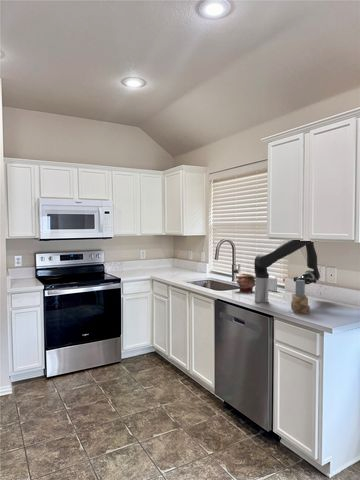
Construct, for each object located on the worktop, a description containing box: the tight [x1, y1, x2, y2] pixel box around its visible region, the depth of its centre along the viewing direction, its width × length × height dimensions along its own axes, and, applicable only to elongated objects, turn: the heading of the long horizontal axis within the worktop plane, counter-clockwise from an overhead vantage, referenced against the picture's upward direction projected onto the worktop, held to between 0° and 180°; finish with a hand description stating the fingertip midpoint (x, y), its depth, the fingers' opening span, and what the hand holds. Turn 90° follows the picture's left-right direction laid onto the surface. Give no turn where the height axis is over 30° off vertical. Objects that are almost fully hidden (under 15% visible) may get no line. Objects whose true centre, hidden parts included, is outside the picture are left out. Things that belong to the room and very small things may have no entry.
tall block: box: [294, 280, 306, 297], centre depth 218 cm, size 4×4×10 cm
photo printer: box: [268, 275, 278, 292], centre depth 287 cm, size 10×4×12 cm, turn 30°
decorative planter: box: [235, 273, 255, 293], centre depth 281 cm, size 20×12×14 cm, turn 115°
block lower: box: [290, 300, 311, 315], centre depth 218 cm, size 9×14×5 cm, turn 169°
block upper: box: [291, 293, 309, 307], centre depth 218 cm, size 8×12×5 cm, turn 167°
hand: (302, 281), depth 227 cm, fingers open, 8 cm apart
